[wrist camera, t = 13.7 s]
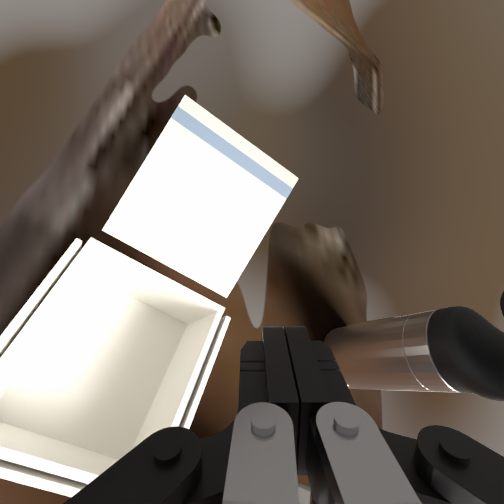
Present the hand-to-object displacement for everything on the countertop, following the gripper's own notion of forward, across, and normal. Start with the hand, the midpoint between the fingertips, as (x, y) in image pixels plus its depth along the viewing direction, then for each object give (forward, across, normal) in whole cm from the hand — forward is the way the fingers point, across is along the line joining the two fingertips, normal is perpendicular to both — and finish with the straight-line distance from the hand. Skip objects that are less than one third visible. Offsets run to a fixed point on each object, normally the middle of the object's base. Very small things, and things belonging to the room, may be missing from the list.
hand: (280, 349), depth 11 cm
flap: (+18, +9, +3) cm, 20 cm away
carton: (+19, +16, +14) cm, 29 cm away
